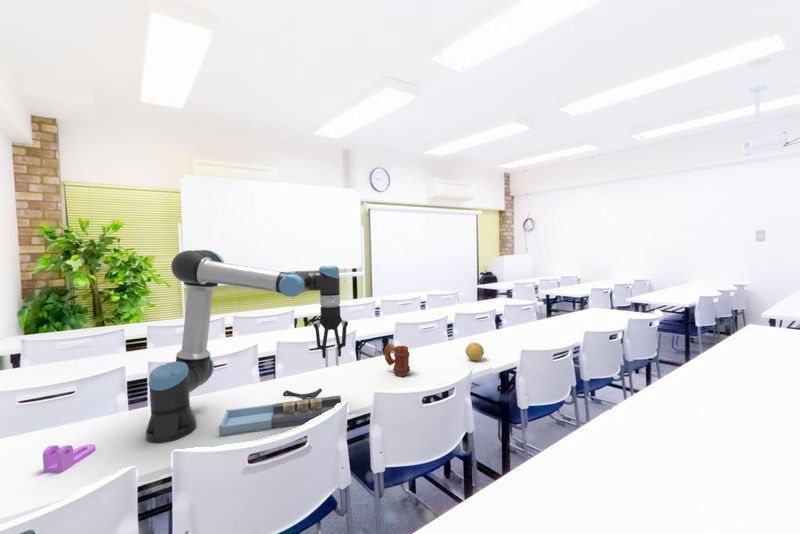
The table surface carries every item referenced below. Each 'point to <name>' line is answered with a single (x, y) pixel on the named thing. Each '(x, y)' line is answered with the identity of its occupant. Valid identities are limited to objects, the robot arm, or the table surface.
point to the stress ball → (474, 351)
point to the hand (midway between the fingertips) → (331, 365)
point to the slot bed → (300, 413)
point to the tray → (246, 420)
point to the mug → (398, 359)
